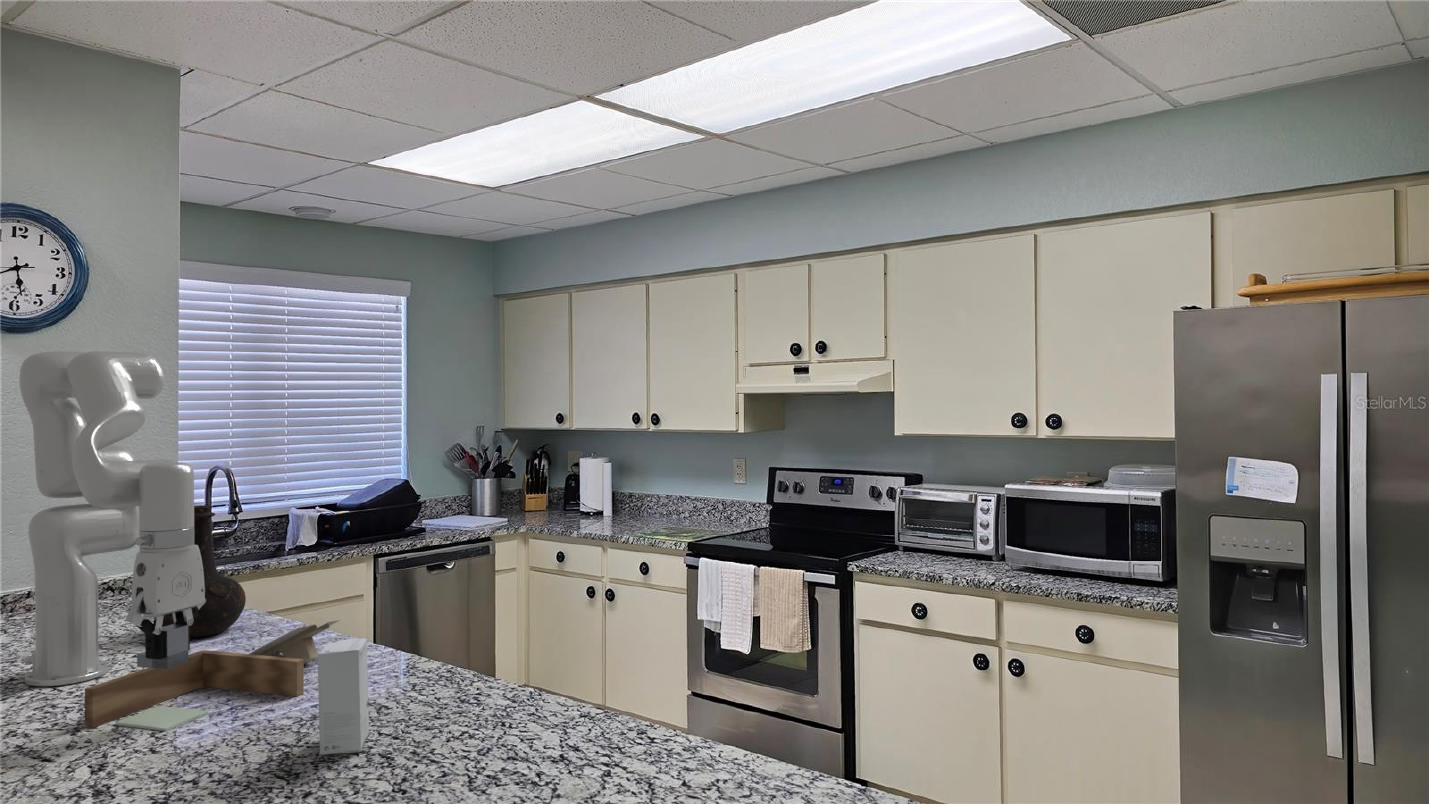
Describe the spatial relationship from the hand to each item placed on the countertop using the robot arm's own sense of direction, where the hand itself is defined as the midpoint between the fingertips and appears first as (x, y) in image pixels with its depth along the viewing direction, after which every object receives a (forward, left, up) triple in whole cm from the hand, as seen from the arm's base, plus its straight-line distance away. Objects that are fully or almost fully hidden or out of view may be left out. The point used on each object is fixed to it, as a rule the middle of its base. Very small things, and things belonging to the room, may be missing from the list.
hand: (167, 653), depth 145 cm
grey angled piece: (-4, +30, -11) cm, 32 cm away
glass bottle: (-39, +45, -11) cm, 61 cm away
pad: (-1, 0, -11) cm, 11 cm away
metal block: (-1, 0, -2) cm, 2 cm away
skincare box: (+34, -1, -11) cm, 36 cm away
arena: (+1, +6, -11) cm, 12 cm away
